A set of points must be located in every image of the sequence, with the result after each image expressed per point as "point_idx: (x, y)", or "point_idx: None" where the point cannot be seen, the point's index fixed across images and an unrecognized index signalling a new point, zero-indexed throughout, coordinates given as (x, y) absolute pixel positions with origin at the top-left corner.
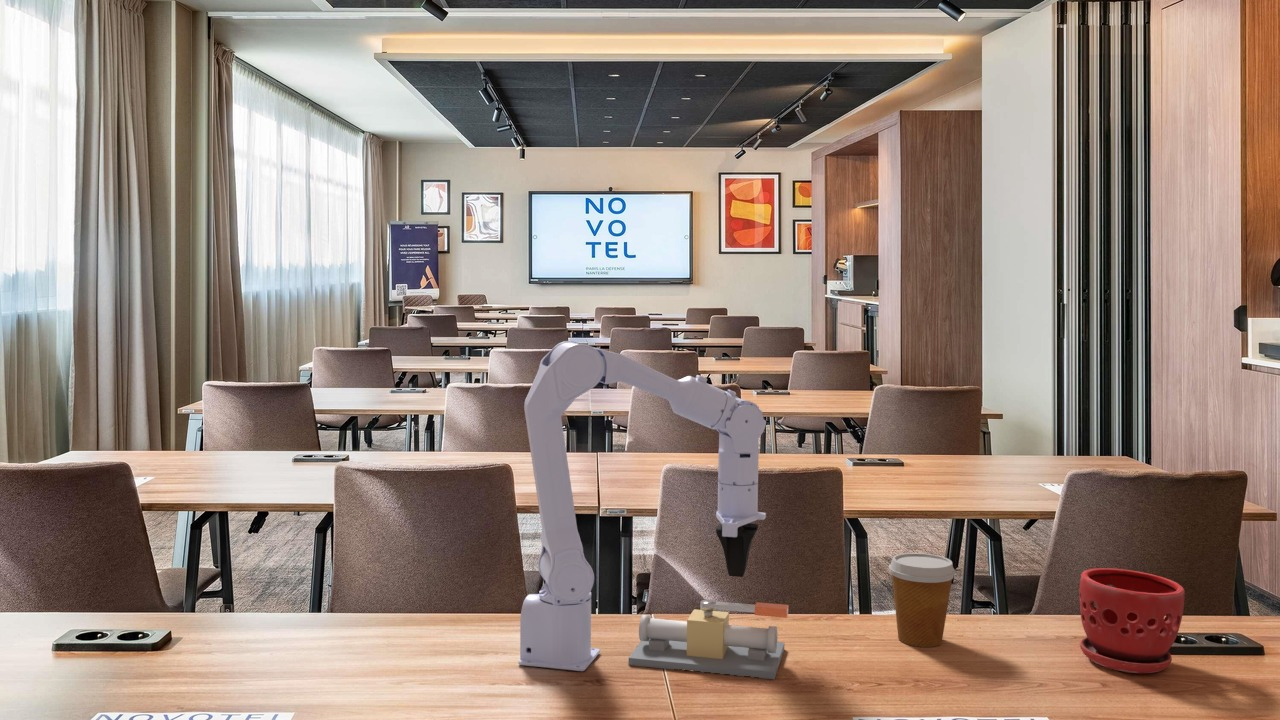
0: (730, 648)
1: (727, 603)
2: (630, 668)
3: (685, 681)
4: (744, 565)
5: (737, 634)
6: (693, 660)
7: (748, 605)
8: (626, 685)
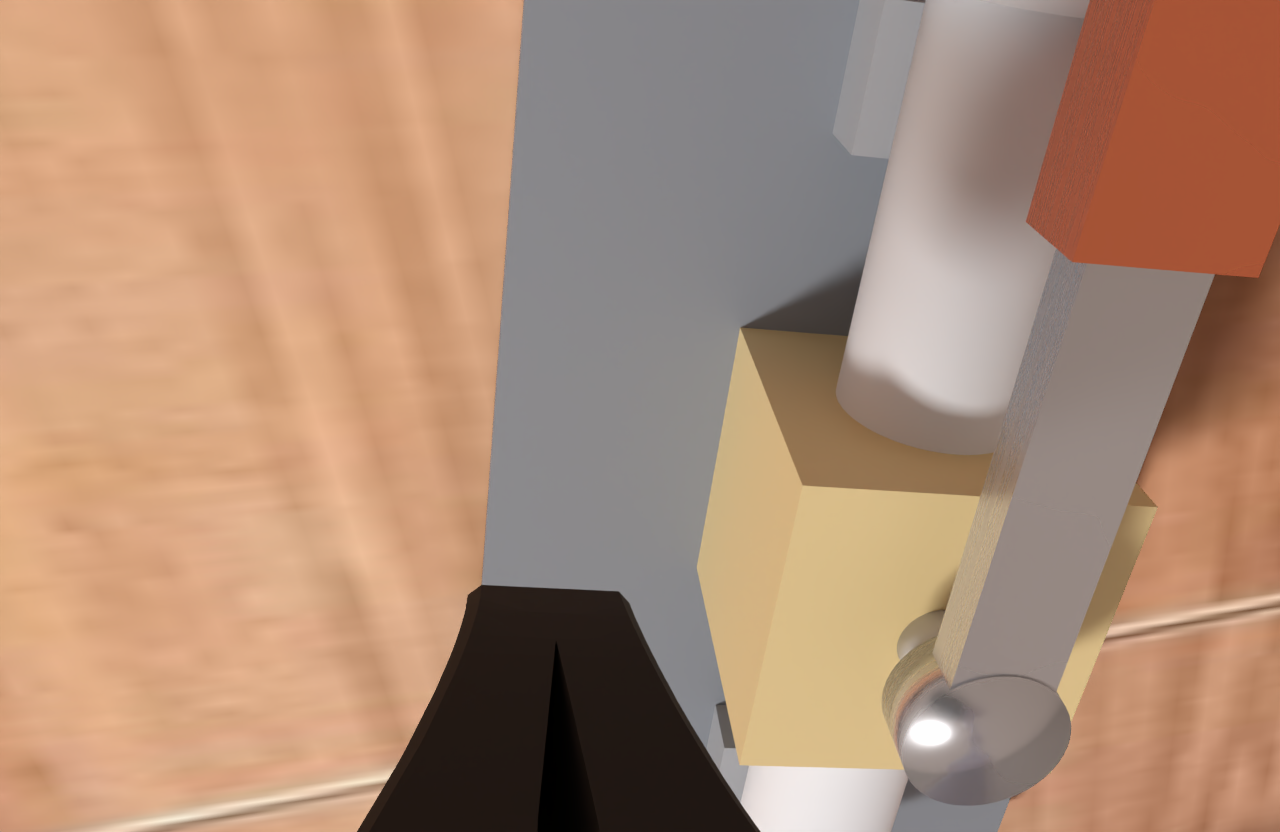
0: (778, 308)
1: (1024, 574)
2: (1024, 797)
3: (1255, 516)
4: (684, 714)
5: None
6: None
7: (1121, 349)
8: (1273, 772)
